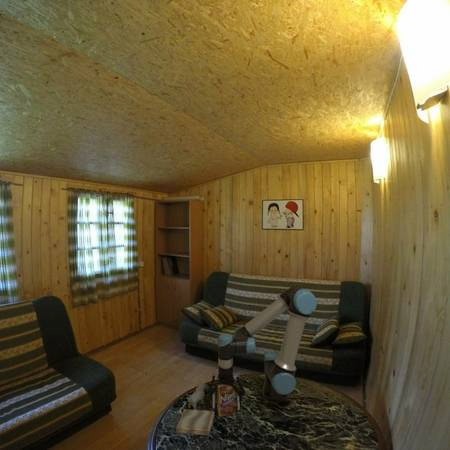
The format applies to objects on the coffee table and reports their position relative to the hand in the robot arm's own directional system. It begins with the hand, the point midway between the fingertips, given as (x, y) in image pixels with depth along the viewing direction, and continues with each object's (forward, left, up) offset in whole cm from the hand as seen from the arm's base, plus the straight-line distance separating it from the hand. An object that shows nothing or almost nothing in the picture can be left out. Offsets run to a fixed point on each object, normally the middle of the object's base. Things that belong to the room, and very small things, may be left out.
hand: (226, 407), depth 141 cm
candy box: (0, 0, -3) cm, 3 cm away
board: (+14, +9, -3) cm, 17 cm away
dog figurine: (+17, -6, -3) cm, 18 cm away
